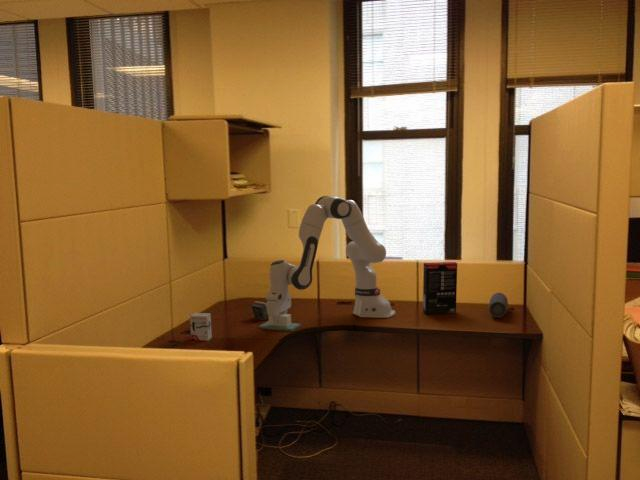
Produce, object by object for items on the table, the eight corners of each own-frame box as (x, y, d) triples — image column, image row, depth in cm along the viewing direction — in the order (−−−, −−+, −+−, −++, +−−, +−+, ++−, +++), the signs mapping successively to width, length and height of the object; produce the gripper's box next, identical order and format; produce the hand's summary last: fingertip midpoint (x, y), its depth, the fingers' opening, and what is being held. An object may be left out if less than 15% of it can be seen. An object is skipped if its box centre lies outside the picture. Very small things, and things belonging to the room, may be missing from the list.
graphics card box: (452, 310, 311) (453, 260, 308) (457, 313, 305) (457, 262, 302) (422, 312, 309) (422, 262, 306) (426, 315, 302) (426, 264, 299)
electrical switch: (271, 319, 301) (269, 302, 300) (263, 322, 298) (261, 305, 296) (259, 316, 308) (257, 299, 306) (251, 319, 304) (249, 302, 302)
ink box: (190, 340, 265) (189, 315, 264) (194, 337, 270) (193, 312, 269) (208, 340, 264) (207, 315, 263) (212, 337, 269) (210, 313, 268)
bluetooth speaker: (507, 320, 288) (507, 301, 287) (488, 319, 291) (488, 300, 290) (508, 310, 309) (508, 292, 308) (490, 309, 312) (490, 291, 311)
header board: (300, 326, 286) (300, 316, 285) (292, 331, 277) (291, 321, 276) (268, 323, 293) (268, 314, 292) (259, 328, 284) (259, 319, 283)
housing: (291, 324, 285) (290, 314, 284) (287, 326, 281) (286, 316, 280) (273, 322, 289) (272, 313, 288) (268, 325, 284) (268, 315, 284)
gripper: (282, 288, 294) (283, 315, 295) (263, 297, 275) (264, 325, 276) (293, 289, 291) (294, 316, 293) (275, 298, 272) (276, 326, 274)
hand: (280, 320), depth 284 cm, fingers open, 8 cm apart
